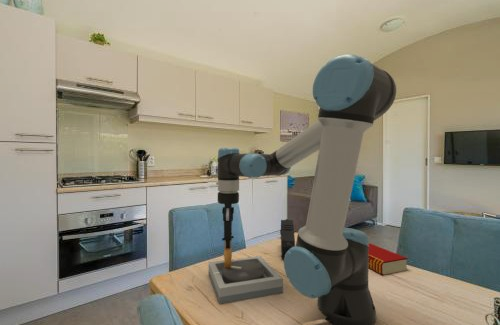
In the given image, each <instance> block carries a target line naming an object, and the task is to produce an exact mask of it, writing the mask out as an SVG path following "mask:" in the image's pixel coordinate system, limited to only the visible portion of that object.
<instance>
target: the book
mask: <svg viewBox="0 0 500 325" xmlns="http://www.w3.org/2000/svg"><path fill="white" fill-rule="evenodd" d="M368 245H369V253H368V269H370V270H372V271H374V272H376V273H378V274H379V275H382V276H387V275H392V274H397V273H402V272H406V271H408V269H407V267H408V266H407V264H408V263H407V262H408V261H407V260H408V257H406V256H403V255H402V254H401V255H400V254H398V253H395V252H393V251H390V250H389V249H385V248H383V247H380V246H378V245H375V244H372V243H369V242H368Z"/></svg>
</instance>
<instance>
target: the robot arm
mask: <svg viewBox="0 0 500 325" xmlns="http://www.w3.org/2000/svg"><path fill="white" fill-rule="evenodd" d="M396 95H397V85H396V83H395V80H394V77H393V76H392V75H390V74H389V73H388V71H386V70H384V69H382V68H380V67H378V66H376V65H375V64H373V63H371V61H370V60H369V59H367V58H366V57H362V56H359V55H356V54H351V53H346V54H340V55H338V56H335V57H333V58H331V59H329V61H327V62H326V63H325V64H324V66H323V65H322V66H321V68H320V69H319V71H318V73H317V74H316V75H315V78H314V81H313V84H312V97H313V99H314V100H315V103H316V104H317V106H318V107H319V111H318V115H317V120H316V121H315V122H314V123H312V124H311V125H310V126H309V127H307V128H306V129H304V130H303V131H301V132H300V133H299V134H297V135H296V136H295V137H293V138H292V139H290V140H288V142H286V143H285V144H284V145H282V146H280V147H279V148H278V149H276V150H275V151H273V152H272V153H270V154H269V153H267V154H266V153H263V154H262V153H255V152H254V153H249V152H248V153H240V149H239V148H237V147H221V148H219V149H218V150H217V160H216V161H217V181H216V182H215V184H216V186H217V191H218V192H217V203H218V204H220V205H224V207H222V209H221V211H222V212H221V213H222V221H223V238H221V240H222V241H223V250H224V249H226V248H230V249H231V259H232V257H233V254H232V252H233V246H232V245H233V239H234V235H233V231H232V230H233V229H232V228H233V225H232V224H233V221H234V214H235V207H234V206H233V204H234V205H235V204H238V203H239V200H240V193H239V192H238V191H240V177H244V178H245V177H246V178H249V179H251V178H253V179H255V178H256V179H257V178H260V177H274V176H275V177H278V176H279V177H280V176H284V175H286V174H288V173H289V172H290V171H291V168H292V167H293V166H295V165H297V164H298V163H300V162H301V161H303V160H304V159H306V158H308V157H310V156H312V154H314V153H316V152H318V155H317V159H316V160H317V161H316V165H315V166H316V167H315V173H314V178H313V182H312V189H311V196H310V201H309V206H308V211H307V216H306V217H307V218H306V223H305V225H304V226H302V227H300V228H299V229H298V231H297V237H296V240H295V246H294V247H292V248H290V249H289V250H288V251H287V252H286V254H285V257H284V258H283V268H284V271H285V272H284V273H285V275H286V277H287V278H288V280H289V282H290V284H291V286H292V287H293V288H294V289H295V290H296V291H297V292H298V293H299V294H301V295H303V296H304V297H306V298H310V299H317V308H318V310H319V312H321V314H323V315H324V316H325V317H324V319H325V320H326V321H328V322H329V323H331V324H334V325H374V323H375V322H376V319H377V318H376V314H377V312H376V311H377V310H376V306H375V304H374V300H373V297H372V294H371V291H370V289H369V268H368V253H369V245H368V244H369V237H368V235H367V233H366V232H364V231H362V230H359V229H356V228H355V229H354V228H351V227H350V228H349V227H345V225H346V221H347V216H348V211H349V205H350V200H351V195H352V191H353V186H354V181H355V178H356V171H357V168H358V167H357V166H358V163H359V161H358V160H359V157H360V152H361V147H362V142H363V136H364V133H365V132H366V131H367V130H369V129H370V128H371V127H373V125H374V122H375V121H376V120H377V119H379V118H380V117H382V116H383V115H384V114H386V112H388V111H389V110H390V108H391V107H392V106H393V104H394V102H395V100H396Z"/></svg>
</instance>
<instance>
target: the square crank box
mask: <svg viewBox="0 0 500 325" xmlns="http://www.w3.org/2000/svg"><path fill="white" fill-rule="evenodd" d="M235 261H252V262H256V263H258V264H260V265H262V266H263V268H264V278H262V279H255V280H249V281H242V282H236V283H229V284H227V283H226V282H224V281H223V279H222V268H223V267H224V259H223V260H217V261H210V262H208V276H209V278H210V279H209V280H210V282H211V285H212V287H213V291H214V294H215V296H216V298H217V301H218V303H219V305H221V304H228V303H233V302H238V301H244V300H249V299H251V300H252V299H255V298H256V299H257V298H260V297H262V298H263V297H268V296H272V295H277V294H279V295H280V294H283V293H284V283H283V282H284V279H283V277H282V275H281V274H279V273H278V272H277V271H276V270H275V269H274V268H273V267H272V265H270V264H269V263H268V262H267V261H266V260H265V259H264V258H263V257H262V255H258V256H251V257H250V256H249V257H240V258H233V259H232V258H231V262H235Z"/></svg>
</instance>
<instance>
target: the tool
mask: <svg viewBox="0 0 500 325" xmlns="http://www.w3.org/2000/svg"><path fill="white" fill-rule="evenodd" d="M279 231H280V233H279V235H280V248H281V249H280V250H281V258H283V259H284V257H285V254H286V252H287V251H288V250H289V249H290V248H292V247H294V246H296V238H295V226H294V220H293V219H287V218H286V219H280V230H279Z"/></svg>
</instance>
